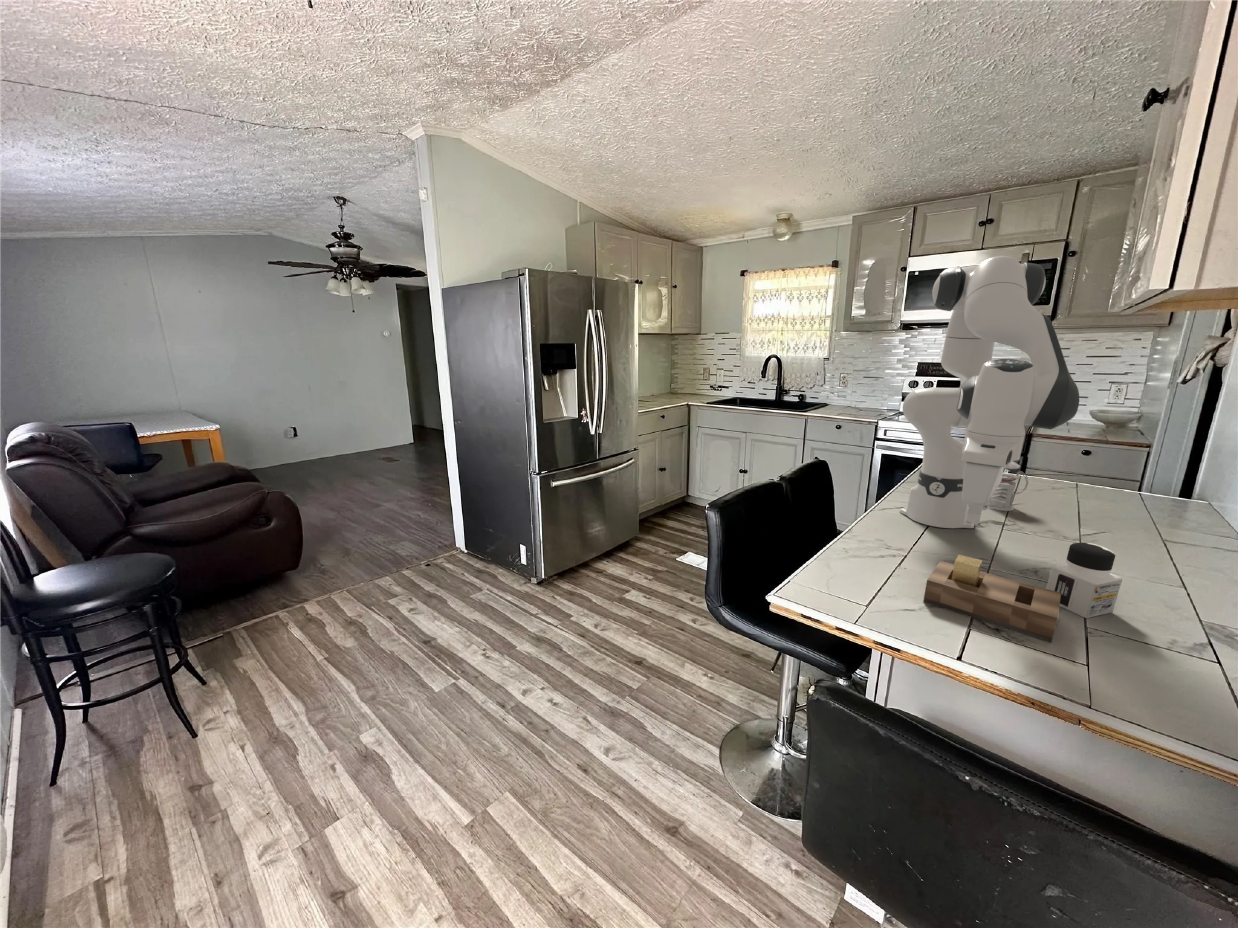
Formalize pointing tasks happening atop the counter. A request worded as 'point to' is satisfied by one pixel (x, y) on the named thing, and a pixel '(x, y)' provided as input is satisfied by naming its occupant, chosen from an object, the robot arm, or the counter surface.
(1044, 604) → the walnut socket block
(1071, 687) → the counter surface
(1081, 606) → the container
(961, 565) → the light wooden square bit
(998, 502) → the french press
